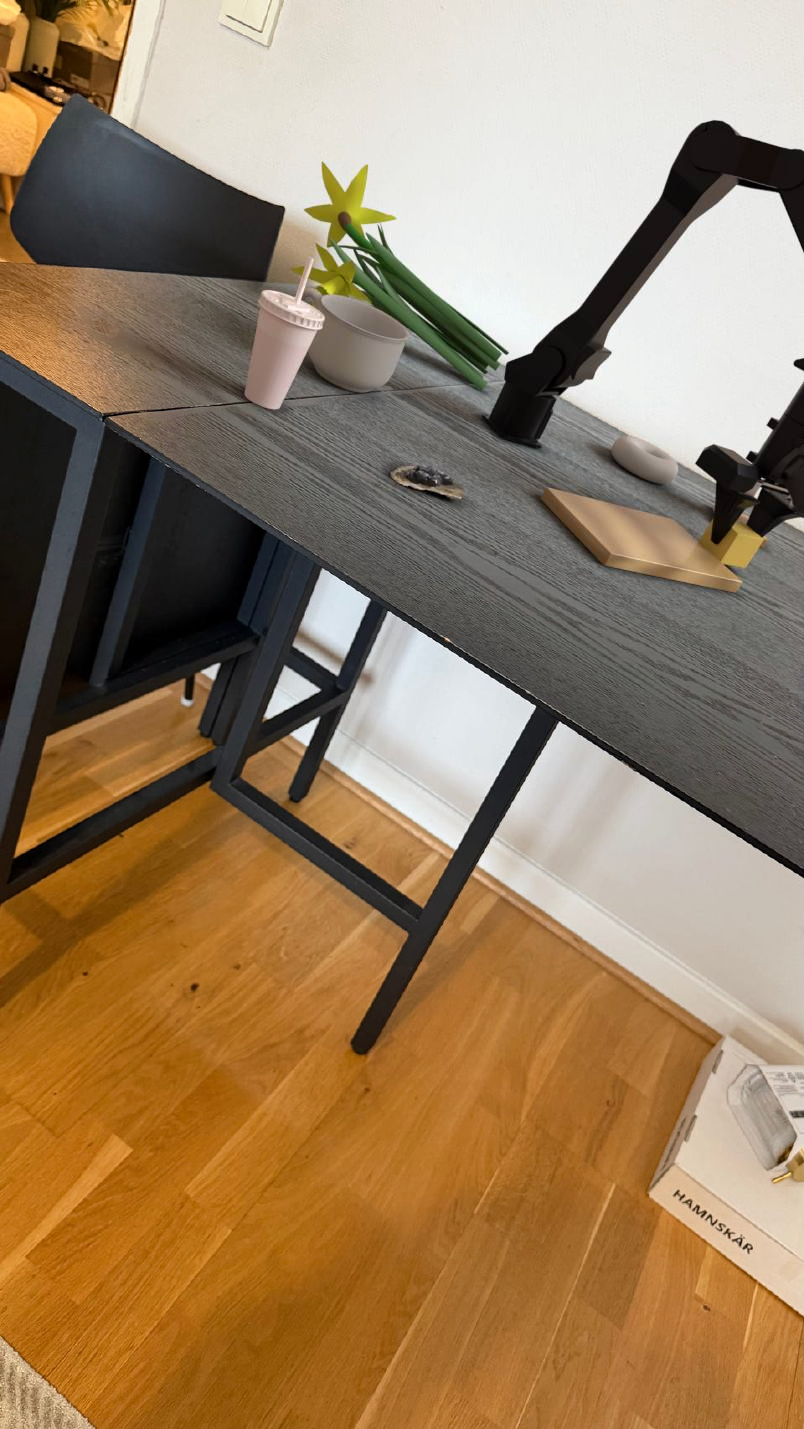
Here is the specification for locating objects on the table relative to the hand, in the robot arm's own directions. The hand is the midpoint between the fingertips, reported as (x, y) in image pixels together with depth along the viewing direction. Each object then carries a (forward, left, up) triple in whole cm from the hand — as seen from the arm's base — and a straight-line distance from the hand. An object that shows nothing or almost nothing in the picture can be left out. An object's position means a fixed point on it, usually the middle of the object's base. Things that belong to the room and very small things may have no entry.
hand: (727, 546), depth 113 cm
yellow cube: (0, 0, -1) cm, 1 cm away
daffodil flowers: (-25, +52, -2) cm, 58 cm away
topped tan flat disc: (-41, +2, -2) cm, 41 cm away
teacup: (-42, +29, -2) cm, 51 cm away
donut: (+6, +26, -2) cm, 27 cm away
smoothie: (-55, +14, -2) cm, 57 cm away
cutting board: (-14, -1, -2) cm, 14 cm away
